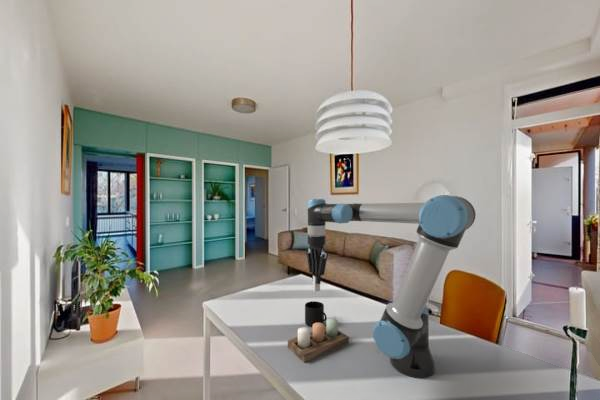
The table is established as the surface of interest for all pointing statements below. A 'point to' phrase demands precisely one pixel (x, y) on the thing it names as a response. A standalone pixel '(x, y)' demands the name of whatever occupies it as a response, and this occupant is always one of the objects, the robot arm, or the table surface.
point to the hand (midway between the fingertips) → (316, 290)
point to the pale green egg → (332, 327)
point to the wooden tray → (318, 346)
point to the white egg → (303, 338)
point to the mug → (314, 313)
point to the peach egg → (318, 332)
